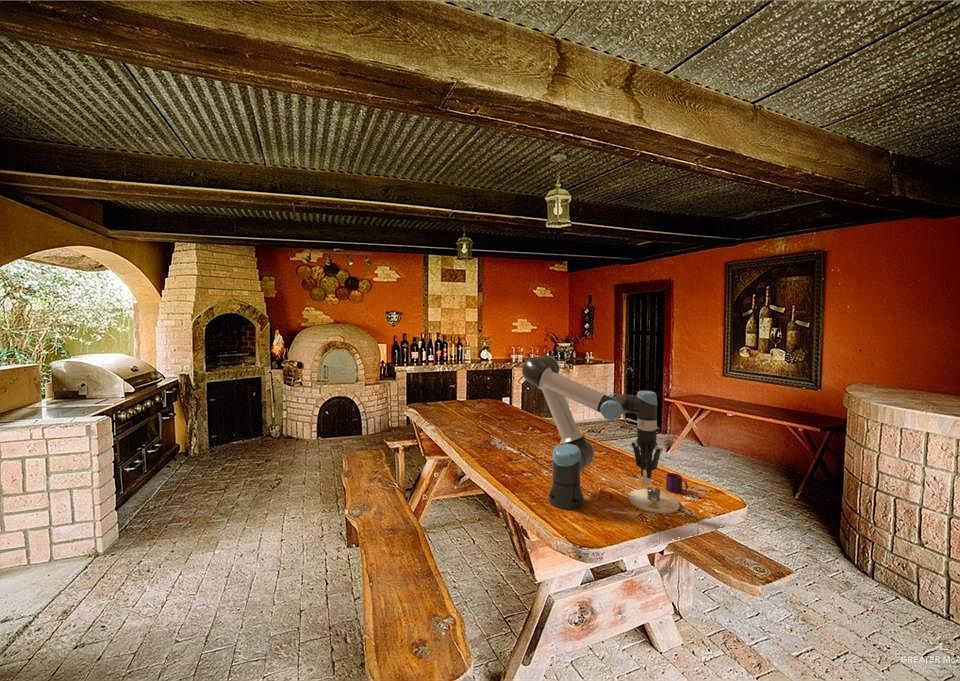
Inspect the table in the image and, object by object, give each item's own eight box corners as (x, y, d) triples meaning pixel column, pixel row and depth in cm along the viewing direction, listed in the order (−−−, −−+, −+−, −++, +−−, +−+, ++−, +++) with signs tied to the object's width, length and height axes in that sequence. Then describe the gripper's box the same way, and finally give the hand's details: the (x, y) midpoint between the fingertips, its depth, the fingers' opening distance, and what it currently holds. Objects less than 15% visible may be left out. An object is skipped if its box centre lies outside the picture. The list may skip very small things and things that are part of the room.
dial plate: (627, 508, 174) (627, 504, 174) (629, 489, 192) (629, 486, 192) (680, 517, 166) (681, 513, 166) (677, 496, 185) (677, 493, 185)
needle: (647, 495, 182) (647, 485, 182) (659, 497, 181) (659, 487, 180) (647, 507, 171) (647, 497, 171) (660, 509, 169) (660, 499, 169)
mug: (673, 486, 196) (674, 472, 196) (691, 494, 187) (691, 480, 187) (662, 488, 194) (662, 474, 193) (679, 497, 185) (680, 482, 184)
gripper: (627, 427, 176) (627, 482, 177) (657, 433, 165) (656, 492, 167) (637, 424, 180) (636, 477, 182) (666, 430, 170) (666, 487, 171)
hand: (646, 484), depth 174 cm, fingers closed
